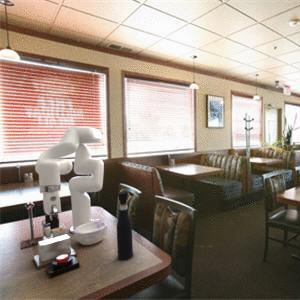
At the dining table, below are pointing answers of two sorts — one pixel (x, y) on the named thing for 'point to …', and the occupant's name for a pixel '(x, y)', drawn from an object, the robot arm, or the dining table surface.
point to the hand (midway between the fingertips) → (52, 225)
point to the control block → (62, 266)
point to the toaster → (54, 247)
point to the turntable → (49, 261)
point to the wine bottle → (124, 229)
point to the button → (62, 258)
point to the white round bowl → (90, 233)
